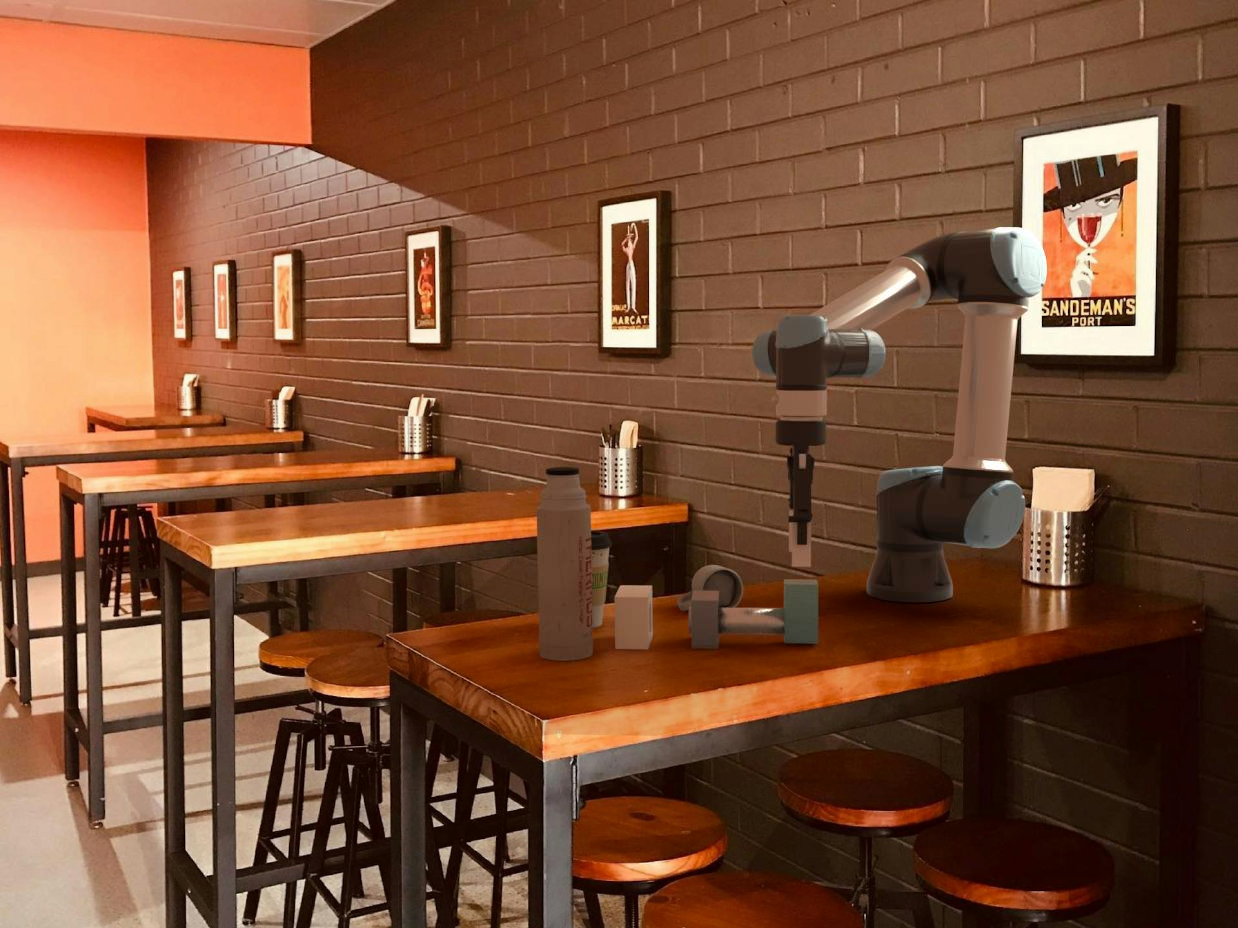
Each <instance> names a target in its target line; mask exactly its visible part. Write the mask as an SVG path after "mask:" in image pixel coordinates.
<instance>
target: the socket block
mask: <svg viewBox="0 0 1238 928" xmlns="http://www.w3.org/2000/svg"><path fill="white" fill-rule="evenodd" d="M653 626H654V625H653V585H637V584H635V585H631V584H630V585H626V584H625V585H623V584H622V585H619V588H618V589H617V592H616V594H615V595H614V646H615V648H614V649H615V650H649V648H650V645H651V641H652V639H653V636H654V635H653V633H654V630H653Z"/></svg>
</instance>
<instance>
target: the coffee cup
mask: <svg viewBox="0 0 1238 928" xmlns="http://www.w3.org/2000/svg"><path fill="white" fill-rule="evenodd" d="M612 546H613V543H612V540H610V537H609V533H608V532H606V531H603V530H594V529H593V530H592V529H591V561H592V626H593V629H594V628H598V627H601V626H602V625H603V616H604V608H605V606H604V605H605V603H606V596H607V586H608V575H609V568H610V562H609V554H610V548H611V547H612Z"/></svg>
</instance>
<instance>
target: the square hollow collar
mask: <svg viewBox="0 0 1238 928" xmlns="http://www.w3.org/2000/svg"><path fill="white" fill-rule="evenodd" d="M718 608H719V591H693V594H692V599H691V634H690V635H691V650H692V649H693V650H697V649H699V650H702V649H703V650H719V642H720V634H718Z"/></svg>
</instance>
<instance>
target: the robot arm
mask: <svg viewBox="0 0 1238 928" xmlns="http://www.w3.org/2000/svg"><path fill="white" fill-rule="evenodd" d="M1047 273H1048V272H1047V259H1046V254H1045V251H1044V248H1043V247H1042V245H1041V243H1040V241H1039V239H1038V238H1037V237H1036V236H1035V234H1034V233H1032V232H1031V231H1029V230H1028V229H1025V228H1022V227H1005V226H1004V227H1003V226H1000V227H998V226H997V227H995V228H989V229H988V228H987V229H976V230H967V231H954V232H953V231H951V232H948V233H944V234H941V235H939V236H935V237H933V238H931V239H929V240H926V241H925V242H922V243H919V245H917V246H914V247H913V248H912V249H909V250H908V251H906V252H904V253H902V254H901V255H898V256H897V257H896V258H893V259H892V260H890V262H888V264H887V265H886V268H885V270H884V271H883V272H881V273H879V274H878V275H875V276H874V277H872V278H871V279H869V280H868V281H866V282H863V283H862V284H860V285H859V286H857V287H855V288H853V289H852V290H850V291H849V292H846V293H845V294H843V295H842V296H839V297H838V298H836V299H834V300H833V301H831V302H829V303H828V304H826V305H825V306H823V307H822V306H821V307H820V308H819V309H817V310H816V311H814V312H812V313H811V314H804V315H803V314H800V315H798V314H794V315H793V314H792V315H789V314H788V315H783V316H781V317H780V318H779V319H778V320H777V326H776V327H777V328H775V329H772V330H766V331H763V332H761V333H759V334H758V335H757V337H756V338H755V340H754V341H753V344H752V345H753V346H752V349H751V356H752V357H751V358H752V360H753V363H754V366H755V368H756V370H758V371H759V372H760V373H761V374H763V375H765V376H773V377H775V380H776V381H775V382H776V384H775V387H776V388H775V389H776V391H775V393H776V395H774V396H772V397H771V402H772V403H777V404H776V406H775V409H776V410H775V411H776V412H775V415H776V416H777V417H779V419H778V420H776V422H775V444H777V445H779V446H786V447H787V446H789V447H790V449H789V453H790V456H786V468H787V478H788V481H789V482H788V483H789V498H788V502H789V504H788V507H789V510H788V512H789V513H788V552H789V553H791V567H798V568H802V567H804V568H811V567H812V561H811V560H812V520H813V519H812V518H813V513H812V485H813V483H814V482H813V481H814V469H815V458H814V456H812V453H810V447H819V446H823V445H825V444H826V442H827V422H826V421H825V420H824V419H823V418H824V417H826V416H827V415H828V408H827V407H828V405H827V403H828V393H827V392H828V390H827V387H828V379H849V378H850V379H862V378H869V377H872V376H874V375H876V374H878V373H879V371H880V370H881V369H882V368H883V366H884V363H885V361H886V346H885V342H884V340H883V339H882V337H881V336H880V335H879V334H878V333H877V332H876V331H874V330H873V329H875V328H877V327H878V326H880V325H882V324H884V323H886V321H888V320H890V319H892V318H894V317H895V316H897V315H898V314H900V313H902V312H903V311H905V310H907V309H911V310H915V309H919V308H921V307H923V306H925V305H927V304H928V303H932V302H935V301H942V300H945V301H946V300H957V308H958V309H959V311H961V313H962V314H963V315H964V317H965V318H964V319H965V320H964V329H963V330H964V331H963V339H962V340H963V342H962V354H961V361H960V362H961V363H960V364H961V365H960V374H959V386H958V394H957V396H958V398H957V408H956V417H955V428H954V441H953V452H952V456H951V458H949V459H948V460H947V461H946V462H945V463H943V465H942V466H941V465H933V466H932V465H931V466H920V467H919V466H918V467H909V468H908V467H907V468H898V469H890V470H889V469H888V470H884V471H882V472H881V473H880V474H879V476H878V479H877V488H876V489H877V490H876V493H875V495H876V553H875V555H874V559H873V562H872V566H871V568H870V571H869V573H868V574H869V575H868V577H867V580H866V594H867V595H868V596H870V597H872V598H875V599H878V600H885V601H889V602H890V601H891V602H898V603H899V602H900V603H932V602H940V601H945V600H948V599H951V598H952V597H953V596H954V594H953V593H954V591H953V589H954V587H953V586H954V585H953V580H952V577H951V574H950V572H949V568H948V565H947V562H946V558H945V555H944V543H947V544H954V545H960V546H966V547H970V548H973V549H981V548H983V549H998V548H1001V547H1003V546H1005V545H1006V544H1008V543H1009V542H1010V541H1011V540H1012V539H1013V537H1015V536H1016V535H1017V533H1018V531H1019V530H1020V527H1021V526H1022V523H1023V520H1024V517H1025V512H1026V498H1025V496H1024V495H1023V494H1024V492H1023V488H1021V486H1020V485H1019V484H1017V483H1016V482H1015V481H1014V480H1013V478H1014V470H1013V468H1012V467H1011V466H1010V465H1009V463H1007V462H1006V452H1007V451H1006V450H1007V441H1008V440H1007V439H1008V431H1009V430H1008V429H1009V418H1010V407H1011V396H1012V387H1013V386H1012V385H1013V376H1014V375H1013V373H1014V363H1015V351H1016V342H1017V341H1016V339H1017V331H1018V330H1017V329H1018V322H1019V321H1018V320H1019V319H1020V318H1021V317H1022V316H1023V315H1024V314H1025V313H1026V312H1028V311H1029V304H1030V303H1029V302H1030V298H1033V297H1035V296H1036V295H1037V294H1039V293H1040V292H1041V291H1042V287H1044V285H1045V283H1046V280H1047V279H1046V278H1047V275H1048V274H1047ZM791 446H792V447H791Z"/></svg>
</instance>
